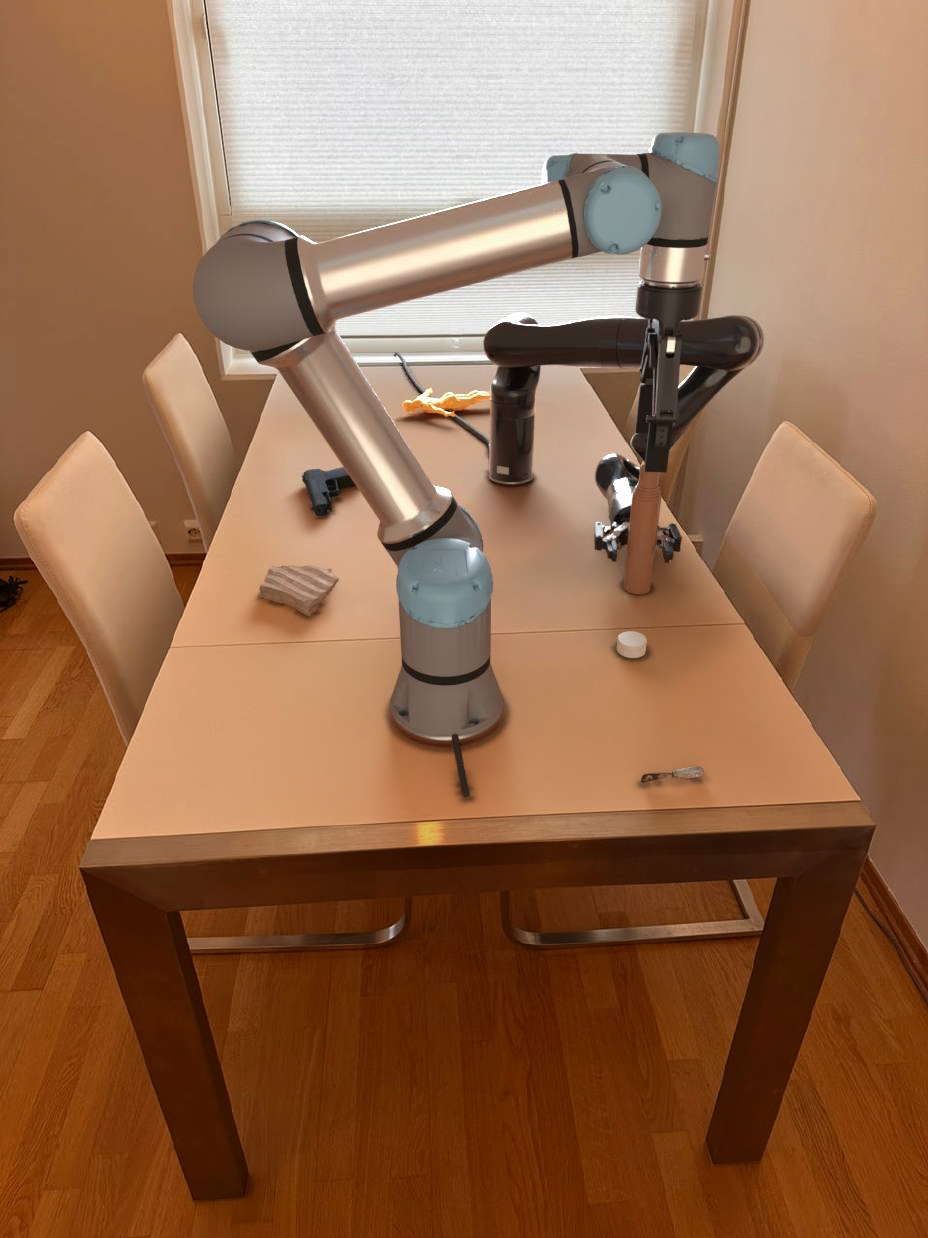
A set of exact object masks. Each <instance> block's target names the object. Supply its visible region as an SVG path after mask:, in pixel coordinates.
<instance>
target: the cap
mask: <svg viewBox="0 0 928 1238" xmlns="http://www.w3.org/2000/svg"><path fill="white" fill-rule="evenodd" d="M616 641H617V642H616V651H617V653H618V654H619V655H620V656H622V657H623V658H628V659H638V658H641V657H643V656H645V654H646V651H647V645H648V644H647V641H648V640H647V637H646V635H644V634H643V633H640V632H638V631H632V630H628V631H623V632H620V633H619V635H617V640H616Z"/></svg>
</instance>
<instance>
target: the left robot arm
mask: <svg viewBox="0 0 928 1238" xmlns="http://www.w3.org/2000/svg"><path fill="white" fill-rule="evenodd" d="M720 147H721V146H720V141H719V140H718V138H717V137H716V136H715V135H713V134H710V133H703V132H689V131H687V132H684V131H680V132H679V131H677V132H675V131H674V132H659V133H657V134H655V135H654V136H653V138H652V142H651V146H650V148H649V149H648V151H649V152H642V153H636V154H629V153H628V154H626V153H625V154H623V153H621V154H620V153H616V154H615V153H578V152H571V153H565V154H552V155H549V156H548V157H547V158H546V159H545V161H544V164H543V167H542V172H541V181H540V184H537V185H533V186H530V187H526V188H522V189H518V190H514V191H511V192H506V193H503V194H499V195H495V196H492V197H488V198H483V199H480V200H475V201H472V202H469V203H465V204H461V205H457V206H453V207H450V208H445V209H443V210H438V211H435V212H431V213H427V214H423V215H419V216H416V217H412V218H408V219H404V220H399V221H396V222H392V223H389V224H384V225H381V226H377V227H373V228H370V229H365V230H362V231H358V232H354V233H351V234H347V235H342V236H339V237H335V238H331V239H327V240H324V241H321V242H314V241H312V240H310V239H309V238H307V237H306V236H305V235H299V234H298V233H296V231H294V230H293V229H291V228H290V227H289V226H287V225H285V224H283V223H280V222H278V221H274V220H270V219H254V220H247V221H243V222H240V223H239V224H237V225H236V226H232V227H230V228H229V229H228V230H227V231H226V232H225V233H223V234H222V235H221V236H220V237H219V238H218V240H217V241H216V242H215V243H214V244H213V245H212V246H211V247H210V248H209V249H208V250H207V251H206V252H205V253H204V255H203V256H202V257H201V258H200V260H199V262H198V264H197V266H196V269H195V271H194V274H193V280H192V299H193V303H194V305H195V309H196V311H197V314H198V316H199V318H200V320H201V321H202V323H203V325H204V326H205V327H206V329H207V330H208V331H209V332H210V333H211V334H212V335H213V336H214V337H215V338H217V339H218V340H219V341H221V342H222V343H224V344H225V345H227V346H229V347H231V348H235V349H238V350H241V351H245V352H246V351H247V352H250V354H251V355H252V356H253V358H254V360H255V361H256V362H257V363H258V364H259V365H261V366H266V367H271V368H274V369H275V370H277V371H278V372H279V374H280V375H281V377H282V378H283V380H284V381H285V383H286V384H287V386H288V387H289V389H290V390H291V391H292V393H293V395H294V396H295V398H296V399H297V401H298V402H299V404H300V405H301V407H302V408H303V410H304V411H305V412H306V414H307V416H308V417H309V418H310V420H311V421H312V423H313V424H314V426H315V427H316V428H317V430H318V432H319V433H320V434H321V436H322V437H323V439H324V440H325V442H326V443H327V445H328V446H329V448H330V450H331V451H332V452H333V454H334V455H335V457H336V458H337V459H338V461H339V463H340V464H341V465H342V467H344V468H345V470H346V471H347V473H348V474H349V476H350V477H351V479H352V480H353V482H354V483H355V485H356V486H355V487H356V488H357V490H358V491H359V492H360V494H361V495H362V497H363V498H364V500H365V501H366V503H367V504H368V506H369V507H370V509H371V510H372V511H373V513H374V515H375V516H376V517H377V519H378V520H379V524H378V528H377V532H376V534H377V536H376V537H377V539H378V540H379V541H380V543H381V545H382V546H383V547H384V549H385V550H386V552H387V553H388V555H389V556H390V558H391V559H392V561H393V562H394V564H395V565H396V567H397V575H396V580H395V587H396V588H395V589H396V595H397V597H398V616H399V633H400V634H399V635H400V652H401V653H400V655H401V667H400V669H399V672H398V675H397V678H396V681H395V684H394V687H393V690H392V693H391V696H390V700H389V706H390V718H391V721H392V724H393V725H394V727H395V728H396V729H397V731H398V732H399V733H400V734H402V735H403V736H404V737H406V738H407V739H409V740H411V741H413V742H415V743H417V744H420V745H421V744H422V745H425V746H430V747H437V748H453V752H454V753H453V754H454V757H455V758H454V759H455V764H456V769H457V774H458V779H459V784H460V789H461V795H462V797H463V798H469V797H470V795H471V792H470V788H469V783H468V779H467V774H466V769H465V764H464V763H465V762H464V758H463V752H462V747H463V746H467V745H471V744H473V743H476V742H480V741H481V740H483V739H485V738H486V737H488V736H489V735H491V734H492V733H493V732H494V731H495V730H496V729H498V727H499V726H500V724H501V722H502V720H503V717H504V696H503V693H502V690H501V687H500V685H499V682H498V679H497V677H496V674H495V672H494V668H493V666H492V664H491V654H492V653H491V651H492V649H491V648H492V647H491V645H492V643H491V642H492V641H491V640H492V596H493V589H494V580H493V573H492V569H491V564H490V562H489V559H488V557H487V556H486V554H485V553H484V540H483V535H482V532H481V530H480V527H479V525H478V523H477V521H476V520H475V519H474V517H473V515H472V514H470V512H468V510H466V508H464V507H463V506H461V505H460V504H459V503H458V502H457V500H456V499H455V497H454V495H453V494H452V492H451V491H450V490H449V489H448V488H445V487H441V486H435V485H433V483H432V482H431V480H430V478H429V477H428V475H427V474H426V472H425V470H424V469H423V467H422V465H421V464H420V462H419V461H418V459H417V458H416V455H415V454H414V452H413V451H412V449H411V448H410V446H409V445H408V443H407V441H406V439H405V438H404V437H403V435H402V433H401V431H400V430H399V428H398V426H397V425H396V423H395V422H394V420H393V419H392V417H391V415H390V414H389V413H388V411H387V409H386V408H385V406H384V405H383V403H382V401H381V400H380V398H379V396H378V395H377V393H376V392H375V390H374V389H373V386H372V385H371V384H370V382H369V380H368V379H367V377H366V375H365V374H364V372H363V371H362V369H361V367H360V366H359V365H358V363H357V360H356V359H355V357H354V356H353V355H352V353H351V351H350V350H349V348H348V346H346V345H347V344H346V343H345V342H344V340H343V338H341V336H340V333H338V331H337V324H338V320H342V319H345V318H348V317H349V318H350V317H353V316H356V315H357V316H358V315H361V314H364V313H367V312H372V311H375V310H379V309H383V308H387V307H391V306H394V305H399V304H402V303H406V302H411V301H414V300H418V299H422V298H427V297H429V296H433V295H436V294H437V295H438V294H441V293H445V292H449V291H453V290H456V289H460V288H464V287H469V286H472V285H476V284H480V283H484V282H488V281H491V280H495V279H499V278H503V277H507V276H510V275H514V274H515V275H516V274H519V273H522V272H525V271H529V270H534V269H538V268H541V267H545V266H548V265H553V264H557V263H560V262H564V261H568V260H572V259H577V258H582V257H586V256H590V255H593V254H594V255H595V254H598V253H602V252H603V253H605V254H609V255H610V254H611V255H618V256H619V255H629V254H632V253H634V252H637V251H639V250H640V253H639V262H638V263H639V264H638V274H637V276H638V277H639V278H640V279H641V280H640V281H639V283H638V284H637V286H636V287H637V289H636V297H635V307H634V310H635V313H636V314H637V315H638V317H643V318H646V319H649V320H648V328H647V329H646V339H645V345H644V350H643V356H642V361H641V367H640V368H638V372H639V375H640V377H639V381H640V385H639V392H638V401H637V410H636V418H635V419H636V420H635V429H634V434H635V433H641V434H648V440H647V449H646V457H645V466H644V471H645V472H660V473H668V465H669V457H670V450H671V449H670V443H671V435H672V427H673V423H676V422H677V418H678V416H677V404H678V388H679V385H680V369H681V365H680V356H681V347H682V344H683V339H682V334H679V329H678V323H679V322H680V321H691V320H693V319H694V318H696V317H697V316H698V315H699V313H700V304H701V297H702V290H703V286H701V283H699V282H700V281H701V280H703V278H704V273H705V266H706V265H705V261H710V260H711V258H712V253H711V251H707V250H708V244H709V234H710V228H711V223H712V216H713V210H714V205H715V204H714V202H715V198H716V197H715V196H716V191H717V190H716V189H717V184H718V183H719V178H718V175H719V164H720V150H721V149H720ZM661 411H669V412H661Z"/></svg>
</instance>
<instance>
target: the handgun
mask: <svg viewBox="0 0 928 1238" xmlns="http://www.w3.org/2000/svg"><path fill="white" fill-rule="evenodd" d="M301 480H302V481H301V482H302V483H304V485H305V488H306V490H307V494H308V497H309V500H310V502H311V507H310V508H309V510H310V511H313V513H314V515H315V516H316V517H319V518H320V517H321V518H322V517H327V516H328V513H332V512H333V507H332V500H331V499H332V498H337V497H339V496H340V493H339V491H341V490H345V489H349V488H353V487H357V486H356V485H355V483H354V482H353V480H352V479H351V477H350V476H349V474H348V473H347V471H346V470H345V468H344V467H343V466H342V467H337V468H333V469H330V470H322V469H320V468H310V469H306V470H305V471H304V472H303V473H302V475H301ZM328 511H329V512H328Z"/></svg>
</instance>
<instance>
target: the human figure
mask: <svg viewBox="0 0 928 1238" xmlns="http://www.w3.org/2000/svg"><path fill="white" fill-rule="evenodd" d="M424 390H425V393H421V394H420V395H418V396H416V398H415V399H414V400H404V401H403V402H402V411H404V412H405V413H410V414H412V413H414V412H417V408H418V409H420V410H421V411H423V412H424V413H427V414H439V415H443V416H444V417H449V416H450V415H451V416H450V417H451V418H453V417H454V416H455V415H456V413H455V411H462V410H464V409H467V408H469V407H471V406H473V405H476V404H478V403H481V402H484V401H488V400H490V391H478V390H473V391H470V392H469V393H468V394H460V393H457V394H455V393H453V392H446V393H444V394H443V395H442V396H441V397H440V398H434V397H432V398H429V397H428V396H429V395H432V394H433V392H434V391H433V389H432V385H429V387H428V389H424ZM447 409H448V410H450V411H451V410H452V411H451V412H446V411H445V410H447Z"/></svg>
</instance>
